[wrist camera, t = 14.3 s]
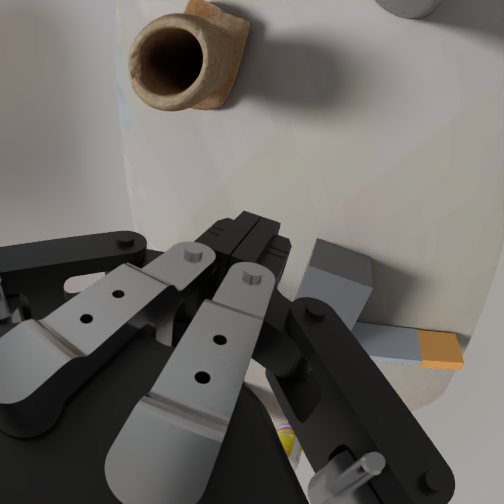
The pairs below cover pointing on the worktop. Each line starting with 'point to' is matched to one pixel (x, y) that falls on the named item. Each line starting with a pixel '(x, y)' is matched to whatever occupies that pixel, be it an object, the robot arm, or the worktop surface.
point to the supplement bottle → (290, 444)
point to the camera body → (338, 280)
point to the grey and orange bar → (409, 346)
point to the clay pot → (188, 58)
